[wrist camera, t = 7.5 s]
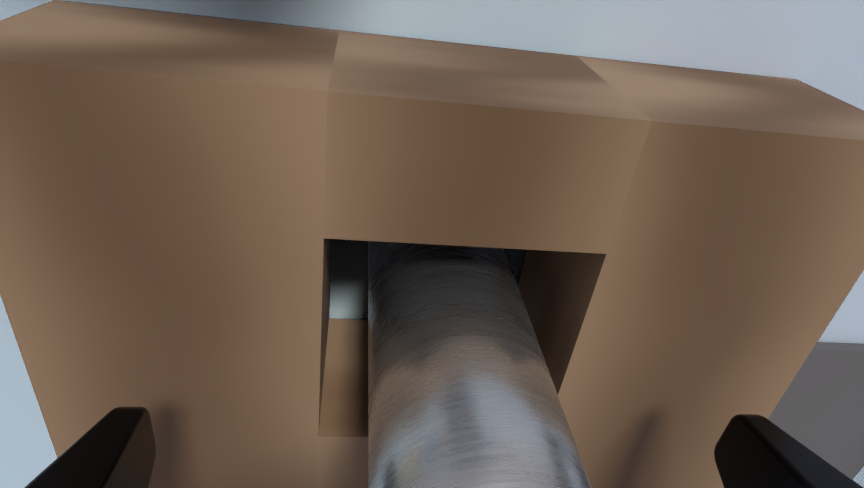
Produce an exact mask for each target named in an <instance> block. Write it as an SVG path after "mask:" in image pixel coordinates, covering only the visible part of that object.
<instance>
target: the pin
mask: <svg viewBox="0 0 864 488" xmlns="http://www.w3.org/2000/svg"><path fill="white" fill-rule="evenodd" d="M368 485H369V488H592V487H591V485H590V482H589V479H588V476H587V474H586V471H585V468H584V466H583V463H582V460H581V457H580V455H579V452H578V449H577V446H576V444H575V441H574V438H573V436H572V433H571V430H570V427H569V425H568V422H567V419H566V416H565V414H564V411H563V408H562V406H561V403H560V400H559V397H558V395H557V392H556V389H555V386H554V384H553V381H552V378H551V376H550V373H549V370H548V367H547V365H546V362H545V359H544V356H543V354H542V351H541V348H540V346H539V343H538V340H537V337H536V335H535V332H534V329H533V327H532V324H531V321H530V318H529V316H528V313H527V310H526V307H525V305H524V302H523V299H522V297H521V294H520V291H519V288H518V286H517V283H516V280H515V277H514V275H513V272H512V269H511V267H510V264H509V261H508V258H507V256H506V253H505V250H504V248H489V247H471V246H453V245H434V244H416V243H398V242H380V241H369V244H368Z"/></svg>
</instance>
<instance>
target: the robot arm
mask: <svg viewBox="0 0 864 488" xmlns="http://www.w3.org/2000/svg"><path fill="white" fill-rule="evenodd" d="M155 456H156V443H155V438H154V433H153V428H152V423H151V418H150V414H149V411H148V410H147V409H146V408H145V407H117V408H114V409H112V410H111V411H110V412H108V413H107V414H106V415H105V416H104V417H103V418H102V419H101V420H100V421H98V422H97V423H96V424H95V425H94V426H93V427H92V428H91V429H89V430H88V431H87V432H86V433H85V434H84V435H83V436H82V437H81V438H79V439H78V440H77V441H76V442H75V443H74V444H73V445H72V446H71V447H69V448H68V449H67V450H66V451H65V452H64V453H63V454H62V455H60V456H59V457H58V458H57V459H56V460H55V461H54V462H53V463H52V464H50V465H49V466H48V467H47V468H46V469H45V470H44V471H43V472H41V473H40V474H39V475H38V476H37V477H36V478H35V479H34V480H33V481H31V482H30V483H29V484H28V485H27V486H26V487H25V488H148V486H149V482H150V478H151V474H152V470H153V466H154V462H155ZM714 458H715V463H716V466H717V469H718V471H719V474H720V477H721V480H722V483H723V486H724V488H863V487H861V486H860V485H859V484H857V483H856V482H854V481H853V480H852V479H850V478H849V477H847V476H846V475H845V474H843V473H842V472H841V471H839V470H838V469H836V468H835V467H834V466H832V465H831V464H829V463H828V462H827V461H825V460H824V459H822V458H821V457H820V456H818V455H817V454H816V453H814V452H813V451H811V450H810V449H809V448H807V447H806V446H804V445H803V444H802V443H800V442H799V441H797V440H796V439H795V438H793V437H792V436H791V435H789V434H788V433H786V432H785V431H784V430H782V429H781V428H779V427H778V426H777V425H775V424H774V423H772V422H771V421H770V420H768V419H767V418H765V417H763V416H761V415H756V414H738V415H735V416H734V417H732V419H731V420H730V421H729V423H728V425H727V427H726V428H725V430H724V432H723V433H722V435H721V437H720V438H719V440H718V442H717V443H716V446H715V449H714Z"/></svg>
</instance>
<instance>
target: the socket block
mask: <svg viewBox="0 0 864 488" xmlns="http://www.w3.org/2000/svg"><path fill="white" fill-rule="evenodd" d="M332 239H343V240H361V241H380V242H398V243H416V244H434V245H453V246H471V247H489V248H507V249H526V250H527V252H526V256H525V260H524V264H523V268H522V272H521V276H520V280H519V284H518V288H519V291H520V294H521V297H522V299H523V302H524V305H525V307H526V310H527V313H528V316H529V318H530V321H531V324H532V327H533V329H534V332H535V335H536V337H537V340H538V343H539V346H540V348H541V351H542V354H543V356H544V359H545V362H546V365H547V367H548V370H549V373H550V376H551V378H552V381H553V384H554V386H555V389H556V392H557V395H558V397H559V400H560V403H561V406H562V408H563V411H564V414H565V416H566V419H567V422H568V425H569V427H570V430H571V433H572V436H573V438H574V441H575V444H576V446H577V449H578V452H579V455H580V457H581V460H582V463H583V466H584V468H585V471H586V474H587V476H588V479H589V482H590V485H591V487H592V488H724V486H723V483H722V480H721V477H720V474H719V471H718V469H717V466H716V463H715V458H714V449H715V446H716V443H717V442H718V440H719V438H720V437H721V435H722V433H723V432H724V430H725V428H726V427H727V425H728V423H729V421H730V420H731V419H732V417H734V416H735V415H738V414H756V415H761V416H763V417H765V418H767V419H768V418H769V416H770V415H771V413H772V412H773V410H774V409H775V407H776V405H777V404H778V402H779V401H780V399H781V398H782V396H783V394H784V393H785V391H786V390H787V388H788V387H789V385H790V384H791V382H792V380H793V379H794V377H795V376H796V374H797V373H798V371H799V370H800V368H801V366H802V365H803V363H804V362H805V360H806V359H807V357H808V356H809V354H810V352H811V351H812V349H813V348H814V346H815V345H816V343H817V342H818V340H819V338H820V337H821V335H822V334H823V332H824V331H825V329H826V327H827V326H828V324H829V323H830V321H831V320H832V318H833V317H834V315H835V313H836V312H837V310H838V309H839V307H840V306H841V304H842V303H843V301H844V299H845V298H846V296H847V295H848V293H849V292H850V290H851V289H852V287H853V285H854V284H855V282H856V281H857V279H858V278H859V276H860V274H861V273H862V271H863V270H864V111H863V110H861V109H859V108H857V107H854V106H852V105H850V104H848V103H846V102H844V101H842V100H840V99H837V98H835V97H833V96H831V95H829V94H827V93H825V92H822V91H820V90H818V89H816V88H814V87H812V86H810V85H808V84H805V83H803V82H801V81H799V80H796V79H786V78H777V77H768V76H759V75H749V74H740V73H731V72H721V71H712V70H703V69H693V68H684V67H675V66H665V65H656V64H647V63H637V62H628V61H619V60H610V59H600V58H591V57H582V56H572V55H563V54H554V53H544V52H535V51H526V50H516V49H507V48H498V47H488V46H479V45H470V44H461V43H451V42H442V41H433V40H423V39H414V38H405V37H395V36H386V35H377V34H367V33H358V32H349V31H339V30H330V29H321V28H311V27H302V26H293V25H284V24H274V23H265V22H256V21H246V20H237V19H228V18H218V17H209V16H200V15H190V14H181V13H172V12H162V11H153V10H144V9H135V8H125V7H116V6H107V5H97V4H88V3H79V2H69V1H60V0H53V1H51V2H48V3H45V4H43V5H40V6H38V7H35V8H32V9H30V10H27V11H25V12H22V13H19V14H17V15H14V16H12V17H9V18H7V19H4V20H1V21H0V295H1V298H2V300H3V303H4V306H5V309H6V312H7V315H8V318H9V320H10V323H11V326H12V329H13V332H14V335H15V338H16V340H17V343H18V346H19V349H20V352H21V355H22V358H23V360H24V363H25V366H26V369H27V372H28V375H29V378H30V380H31V383H32V386H33V389H34V392H35V395H36V398H37V400H38V403H39V406H40V409H41V412H42V415H43V418H44V421H45V423H46V426H47V429H48V432H49V435H50V438H51V441H52V443H53V446H54V449H55V452H56V455H57V458H58V457H59V456H60V455H62V454H63V453H64V452H65V451H66V450H67V449H68V448H69V447H71V446H72V445H73V444H74V443H75V442H76V441H77V440H78V439H79V438H81V437H82V436H83V435H84V434H85V433H86V432H87V431H88V430H89V429H91V428H92V427H93V426H94V425H95V424H96V423H97V422H98V421H100V420H101V419H102V418H103V417H104V416H105V415H106V414H107V413H108V412H110V411H111V410H112V409H114V408H117V407H145V408H146V409H147V410H148V411H149V414H150V418H151V423H152V428H153V433H154V438H155V443H156V456H155V462H154V466H153V470H152V474H151V478H150V482H149V486H148V488H369V485H368V320H358V319H330V318H329V307H330V279H331V251H332Z"/></svg>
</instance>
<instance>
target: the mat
mask: <svg viewBox="0 0 864 488" xmlns="http://www.w3.org/2000/svg"><path fill="white" fill-rule="evenodd" d="M768 420H770V421H771V422H772V423H774V424H775V425H777V426H778V427H779V428H781V429H782V430H784V431H785V432H786V433H788V434H789V435H791V436H792V437H793V438H795V439H796V440H797V441H799V442H800V443H802V444H803V445H804V446H806V447H807V448H809V449H810V450H811V451H813V452H814V453H816V454H817V455H818V456H820V457H821V458H822V459H824V460H825V461H827V462H828V463H829V464H831V465H832V466H834V467H835V468H836V469H838V470H839V471H841V472H842V473H843V474H845V475H846V476H847V477H849V478H850V479H852V480H853V478H854V477H855V476H856V475H857V473H858V472H859V471H860V470H861V469H862V467H863V466H864V344H852V343H821V342H817V343H816V345H815V346H814V348H813V349H812V351H811V352H810V354H809V356H808V357H807V359H806V360H805V362H804V363H803V365H802V366H801V368H800V370H799V371H798V373H797V374H796V376H795V377H794V379H793V380H792V382H791V384H790V385H789V387H788V388H787V390H786V391H785V393H784V394H783V396H782V398H781V399H780V401H779V402H778V404H777V405H776V407H775V409H774V410H773V412H772V413H771V415H770V416H769V418H768Z"/></svg>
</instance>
